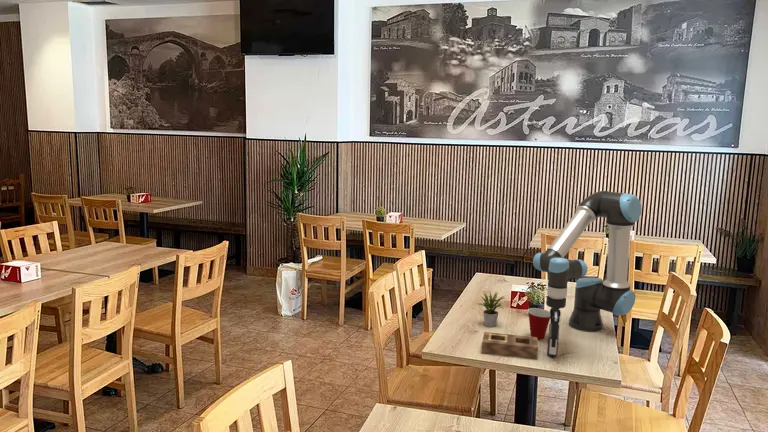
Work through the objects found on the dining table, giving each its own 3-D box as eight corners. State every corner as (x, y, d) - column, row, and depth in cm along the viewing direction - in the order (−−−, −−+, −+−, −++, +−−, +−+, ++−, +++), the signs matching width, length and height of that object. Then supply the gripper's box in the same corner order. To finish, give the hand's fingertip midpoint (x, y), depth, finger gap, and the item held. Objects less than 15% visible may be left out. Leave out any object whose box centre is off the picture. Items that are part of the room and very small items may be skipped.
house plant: (506, 332, 271) (508, 297, 268) (475, 329, 273) (477, 294, 271) (506, 322, 285) (508, 288, 282) (476, 319, 287) (478, 286, 285)
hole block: (536, 348, 253) (537, 336, 252) (537, 359, 241) (537, 347, 240) (483, 342, 257) (484, 331, 257) (481, 353, 246) (482, 341, 245)
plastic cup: (551, 343, 260) (553, 316, 258) (526, 340, 262) (527, 314, 260) (550, 334, 270) (552, 308, 268) (525, 332, 272) (527, 306, 270)
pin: (556, 354, 247) (559, 324, 245) (557, 358, 243) (559, 327, 241) (546, 353, 248) (549, 323, 246) (547, 356, 244) (549, 326, 242)
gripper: (546, 290, 250) (542, 343, 254) (547, 301, 234) (543, 358, 238) (564, 291, 249) (560, 345, 253) (567, 303, 232) (563, 361, 236)
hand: (552, 351), depth 245 cm, fingers closed on pin, 4 cm apart
